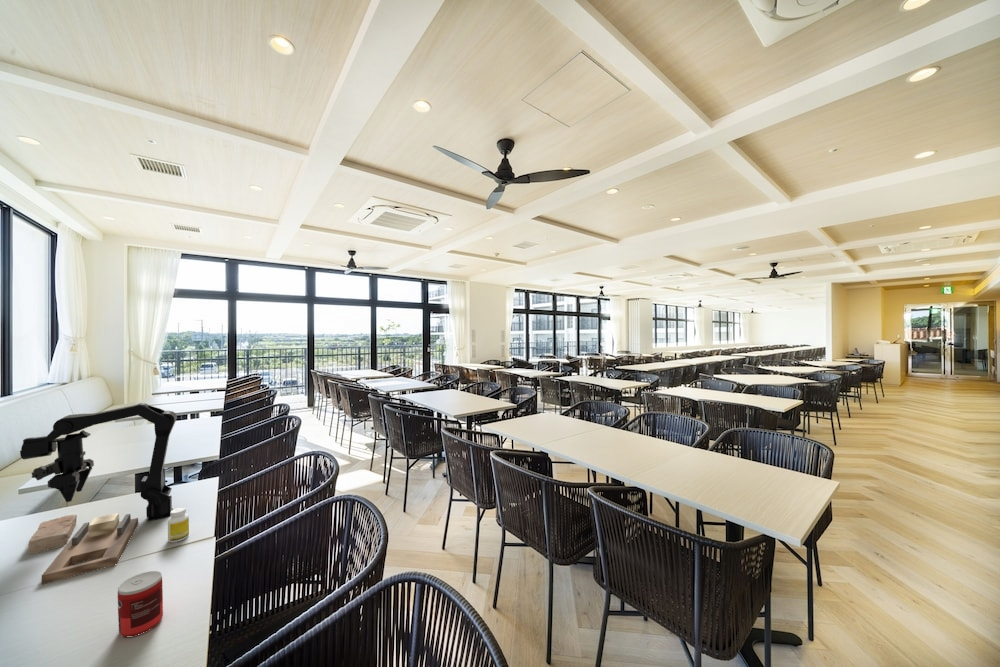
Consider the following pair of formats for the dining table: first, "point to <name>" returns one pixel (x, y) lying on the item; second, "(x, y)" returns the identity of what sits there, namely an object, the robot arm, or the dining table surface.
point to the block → (103, 525)
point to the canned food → (140, 603)
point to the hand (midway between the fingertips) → (74, 496)
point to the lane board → (90, 551)
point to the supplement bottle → (178, 525)
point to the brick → (52, 534)
